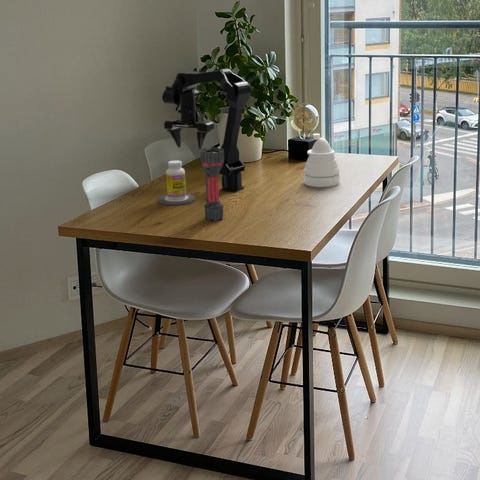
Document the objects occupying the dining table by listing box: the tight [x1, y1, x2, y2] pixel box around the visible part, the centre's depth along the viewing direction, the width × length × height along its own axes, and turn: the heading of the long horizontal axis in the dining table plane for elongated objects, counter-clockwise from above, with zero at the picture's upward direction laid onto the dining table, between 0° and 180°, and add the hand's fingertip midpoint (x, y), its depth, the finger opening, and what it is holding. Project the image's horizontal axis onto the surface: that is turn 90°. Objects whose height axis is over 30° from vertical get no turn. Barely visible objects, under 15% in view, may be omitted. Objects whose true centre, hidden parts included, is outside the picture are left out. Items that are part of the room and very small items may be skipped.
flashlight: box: [200, 146, 224, 222], centre depth 281 cm, size 8×8×23 cm
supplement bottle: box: [165, 160, 187, 200], centre depth 307 cm, size 7×7×13 cm
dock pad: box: [157, 193, 196, 207], centre depth 309 cm, size 13×13×1 cm
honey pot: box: [303, 133, 340, 188], centre depth 324 cm, size 13×13×18 cm
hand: (189, 148), depth 330 cm, fingers open, 9 cm apart
